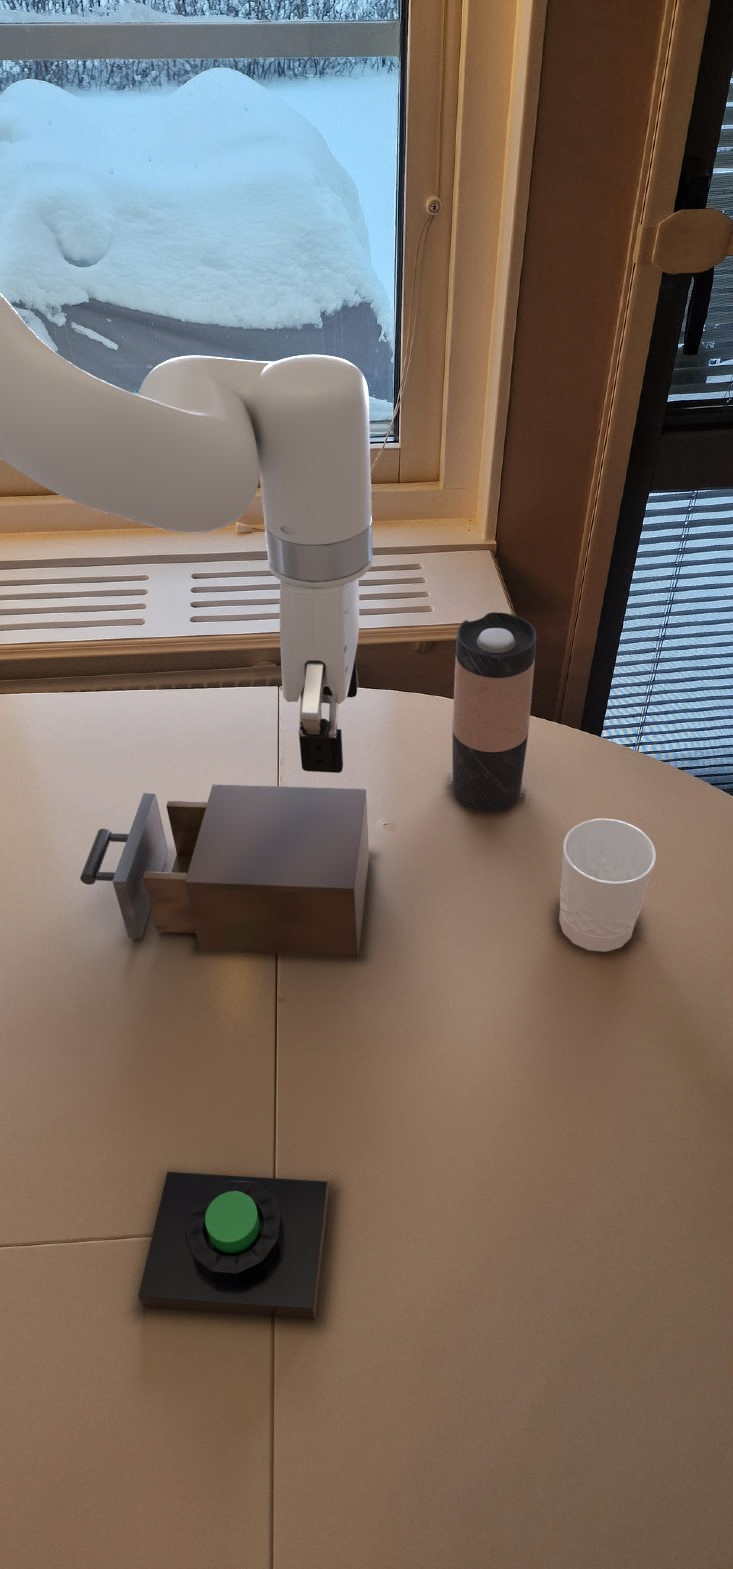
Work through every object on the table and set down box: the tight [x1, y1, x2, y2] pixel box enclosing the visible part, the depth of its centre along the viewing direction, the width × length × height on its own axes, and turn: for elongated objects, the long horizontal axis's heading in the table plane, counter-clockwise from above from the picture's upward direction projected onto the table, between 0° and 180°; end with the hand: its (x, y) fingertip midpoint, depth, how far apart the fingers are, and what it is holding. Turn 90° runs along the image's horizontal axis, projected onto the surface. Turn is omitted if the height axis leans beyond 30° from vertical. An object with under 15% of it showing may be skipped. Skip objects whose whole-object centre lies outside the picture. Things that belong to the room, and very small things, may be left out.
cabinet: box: [185, 783, 370, 959], centre depth 96 cm, size 15×13×10 cm
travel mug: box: [451, 611, 537, 813], centre depth 103 cm, size 8×8×20 cm
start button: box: [205, 1191, 260, 1253], centre depth 72 cm, size 4×4×2 cm
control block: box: [138, 1171, 330, 1321], centre depth 73 cm, size 12×9×4 cm
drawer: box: [79, 792, 208, 940], centre depth 97 cm, size 18×11×8 cm, turn 85°
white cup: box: [558, 818, 657, 953], centre depth 93 cm, size 8×8×10 cm
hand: (330, 730), depth 85 cm, fingers open, 9 cm apart
